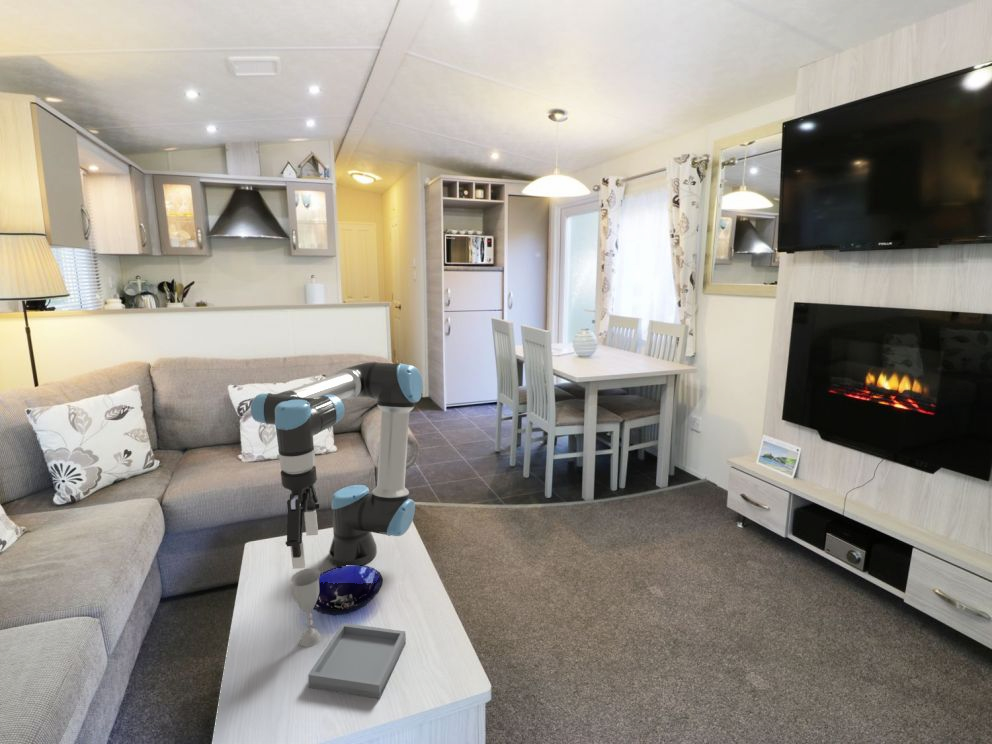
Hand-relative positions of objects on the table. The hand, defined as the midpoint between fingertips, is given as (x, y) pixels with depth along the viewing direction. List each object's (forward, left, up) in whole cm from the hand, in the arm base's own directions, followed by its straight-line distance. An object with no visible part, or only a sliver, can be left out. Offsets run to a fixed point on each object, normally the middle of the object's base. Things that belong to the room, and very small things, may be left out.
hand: (306, 550), depth 120 cm
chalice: (-3, -3, -28) cm, 28 cm away
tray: (+2, +13, -28) cm, 31 cm away
